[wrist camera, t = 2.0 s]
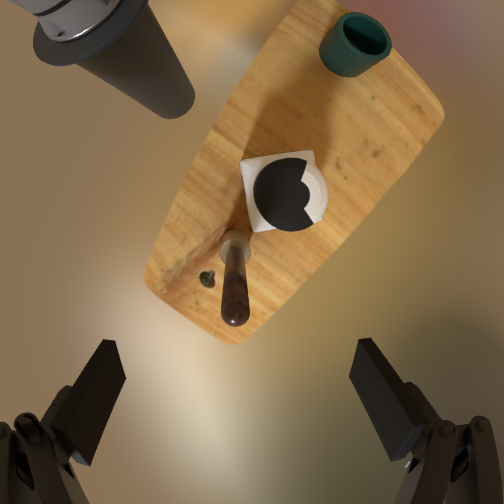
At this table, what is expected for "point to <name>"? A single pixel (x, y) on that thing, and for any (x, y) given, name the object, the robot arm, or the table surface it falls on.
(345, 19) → the cup
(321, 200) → the container
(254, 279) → the table surface
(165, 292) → the table surface
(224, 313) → the brush
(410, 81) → the table surface
